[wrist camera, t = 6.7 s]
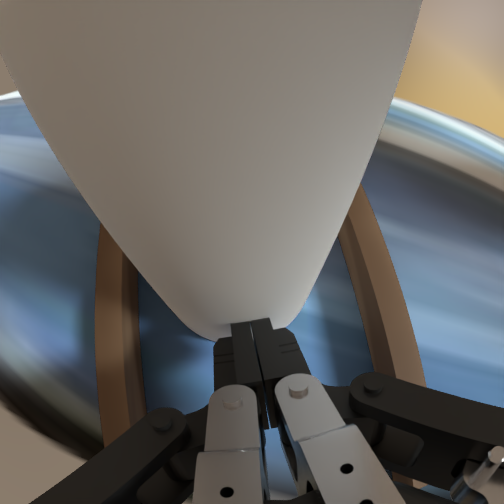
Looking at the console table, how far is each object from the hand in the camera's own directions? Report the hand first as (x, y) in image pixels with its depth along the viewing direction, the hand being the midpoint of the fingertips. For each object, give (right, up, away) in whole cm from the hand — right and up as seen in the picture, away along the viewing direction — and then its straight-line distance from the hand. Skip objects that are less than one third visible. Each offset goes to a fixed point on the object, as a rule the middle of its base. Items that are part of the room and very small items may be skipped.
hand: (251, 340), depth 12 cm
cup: (-1, +2, +6) cm, 6 cm away
